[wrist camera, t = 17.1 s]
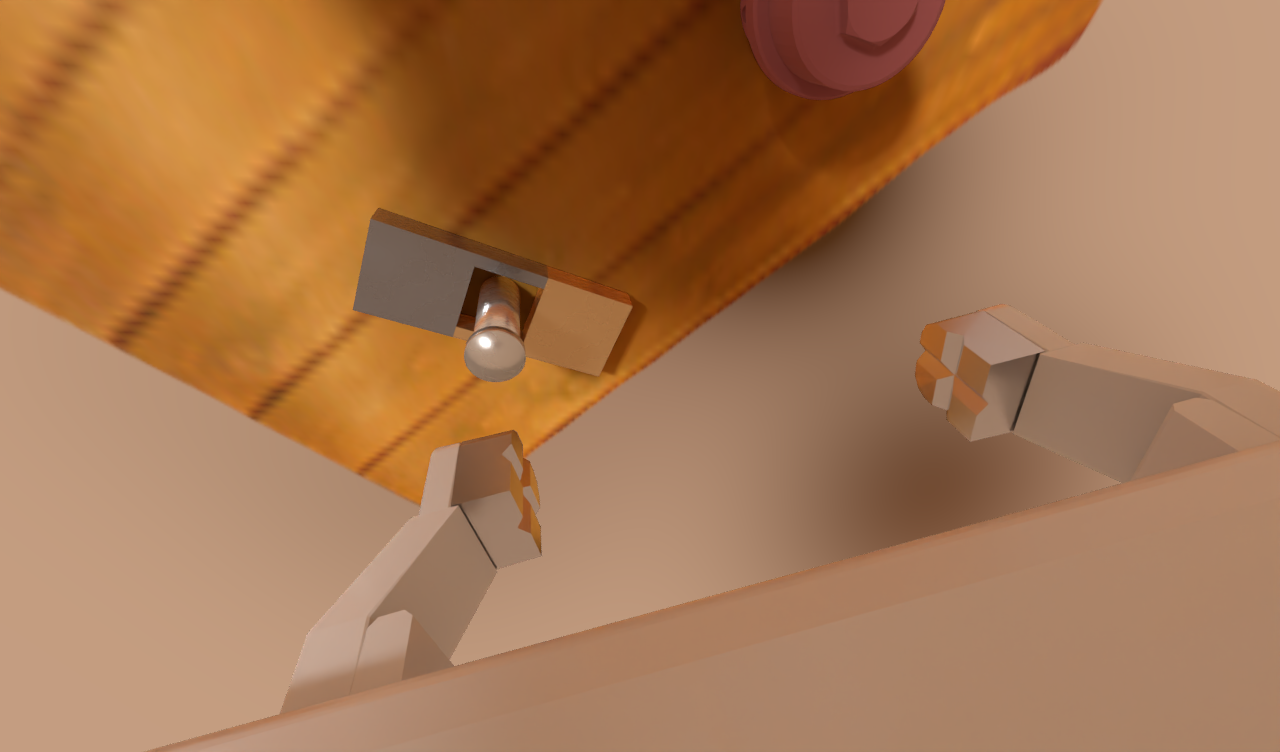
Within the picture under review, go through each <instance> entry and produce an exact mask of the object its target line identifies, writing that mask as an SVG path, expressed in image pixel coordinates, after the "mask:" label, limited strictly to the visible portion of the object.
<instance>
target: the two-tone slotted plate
mask: <svg viewBox="0 0 1280 752" xmlns="http://www.w3.org/2000/svg"><path fill="white" fill-rule="evenodd" d="M474 267H477V268H480V269H483V270H486V271H489V272H493V273H496V274H499V275H502V276H505V277H508V278H511V279H514V280H517V281H520V282H523V283H526V284H529V285H533V286H536V287H539V289H538V291H537V294H536V296H535V299H534V302H533V304H532V307H531V310H530V312H529V315H528V318H527V320H526V323H525V326H524V328H523V331H521V330H520V338H521V339H522V341H523V343H524V345H525V350H526V357H529V358H532V359H536V360H540V361H543V362H547V363H551V364H554V365H558V366H562V367H565V368H569V369H573V370H577V371H580V372H584V373H588V374H591V375H595V376H599V375H600V373H601V371H602V369H603V367H604V365H605V363H606V361H607V359H608V357H609V355H610V353H611V350H612V348H613V346H614V344H615V342H616V340H617V338H618V336H619V334H620V332H621V330H622V328H623V326H624V323H625V321H626V319H627V317H628V315H629V313H630V311H631V309H632V307H633V306H632V303H631V300H630V298H629V295H628V293H625V292H622V291H619V290H616V289H613V288H610V287H607V286H604V285H602V284H599V283H596V282H593V281H590V280H587V279H584V278H581V277H578V276H575V275H572V274H569V273H567V272H564V271H561V270H558V269H555V268H552V267H549V266H546V265H543V264H540V263H537V262H535V261H532V260H529V259H526V258H523V257H520V256H517V255H514V254H511V253H508V252H505V251H502V250H500V249H497V248H494V247H491V246H488V245H485V244H482V243H479V242H476V241H473V240H470V239H467V238H465V237H462V236H459V235H456V234H453V233H450V232H447V231H444V230H441V229H438V228H435V227H433V226H430V225H427V224H424V223H421V222H418V221H415V220H412V219H409V218H406V217H403V216H400V215H398V214H395V213H392V212H389V211H386V210H383V209H380V208H378V209H377V211H376V212H375V213H374V215H373V216H372V218H371V220H370V225H369V230H368V235H367V240H366V245H365V251H364V256H363V261H362V266H361V271H360V276H359V281H358V286H357V292H356V297H355V302H354V307H353V310H355V311H359V312H362V313H366V314H370V315H374V316H377V317H381V318H385V319H388V320H392V321H396V322H399V323H403V324H407V325H410V326H414V327H418V328H421V329H425V330H429V331H433V332H436V333H440V334H444V335H447V336H451V337H455V338H458V339H462V340H466V341H468V339H469V337H470V336H471V335H472V334H473V333H474V328H475V321H476V317H473V316H469V315H466V314H463V313H460V312H461V309H462V306H463V302H464V299H465V296H466V293H467V289H468V286H469V283H470V280H471V276H472V273H473V270H474Z"/></svg>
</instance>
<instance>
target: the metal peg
mask: <svg viewBox="0 0 1280 752" xmlns="http://www.w3.org/2000/svg"><path fill="white" fill-rule="evenodd" d="M464 360H465V363H466V366H467V367H468V369H469V370H470V371H471V372H472V373H473V374H474V375H475V376H477V377H478V378H480V379H482V380H485V381H490V382H502V381H507V380H509V379H512V378H513V377H515V376H516V375H518V374H519V373H520V372H521V370H522V369H523V367H524V365H525V360H526V350H525V345H524V343H523V341H522V339H521V338H520V291H519V288H518V286H517V284H516V283H515V282H514V281H513V280H511V279H509V278H507V277H504V276H493V277H490V278H488V279H487V280H486V281H484V283H483V284H482V286H481V288H480V294H479V301H478V308H477V314H476V321H475V328H474V333H473V334H472V335H471V336H470V337H469V339H468V341H467V343H466V347H465V353H464Z"/></svg>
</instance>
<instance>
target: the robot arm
mask: <svg viewBox="0 0 1280 752" xmlns="http://www.w3.org/2000/svg"><path fill="white" fill-rule="evenodd" d="M920 344H921V345H922V346H923V347H924V349H925V352H924V353H923V354H922V355H921V357H920V358H919V359H918V360H917V363H916V372H915V377H916V381H917V385H918V388H919V390H920V392H921V393H922V395H923V397H924V398H925V399H926V400H927V401H928V402H929V403H930V404H931V405H933V406H935V407H938V408H941V409H944V410H947V420H948V422H950V423H951V424H952V425H953V426H954V427H955V428H956V429H957V430H958V431H959V432H960V433H961V434H962V435H963V436H964V437H965V438H966V439H967V440H968V441H969V442H972V441H976V440H980V439H984V438H989V437H993V436H996V435H1001V434H1005V433H1009V432H1013V434H1014V435H1016V436H1019V437H1021V438H1023V439H1025V440H1028V441H1030V442H1032V443H1035V444H1037V445H1039V446H1042V447H1043V448H1046V449H1048V450H1050V451H1052V452H1054V453H1057V454H1059V455H1061V456H1064V457H1066V458H1068V459H1070V460H1072V461H1075V462H1077V463H1079V464H1081V465H1084V466H1086V467H1088V468H1090V469H1092V470H1095V471H1097V472H1099V473H1102V474H1104V475H1106V476H1108V477H1110V478H1113V479H1115V480H1117V481H1119V482H1121V484H1117V485H1114V486H1110V487H1106V488H1103V489H1099V490H1095V491H1092V492H1089V493H1084V494H1081V495H1077V496H1074V497H1070V498H1066V499H1063V500H1059V501H1056V502H1052V503H1048V504H1044V505H1041V506H1037V507H1034V508H1030V509H1026V510H1023V511H1019V512H1016V513H1012V514H1008V515H1004V516H1001V517H997V518H994V519H990V520H986V521H983V522H979V523H975V524H972V525H968V526H965V527H961V528H957V529H954V530H950V531H946V532H943V533H939V534H935V535H932V536H929V537H924V538H921V539H917V540H914V541H910V542H906V543H903V544H899V545H895V546H892V547H888V548H884V549H881V550H877V551H873V552H870V553H866V554H862V555H859V556H855V557H851V558H848V559H845V560H840V561H837V562H833V563H829V564H826V565H822V566H818V567H815V568H811V569H808V570H804V571H800V572H797V573H793V574H789V575H786V576H782V577H778V578H775V579H771V580H768V581H764V582H760V583H757V584H753V585H749V586H745V587H742V588H738V589H735V590H731V591H727V592H724V593H720V594H716V595H713V596H709V597H705V598H702V599H698V600H694V601H691V602H687V603H683V604H680V605H676V606H673V607H669V608H666V609H661V610H658V611H654V612H651V613H647V614H643V615H640V616H636V617H633V618H629V619H626V620H622V621H618V622H614V623H610V624H607V625H603V626H600V627H596V628H592V629H589V630H585V631H582V632H578V633H574V634H570V635H567V636H563V637H559V638H556V639H553V640H549V641H545V642H541V643H538V644H534V645H531V646H527V647H523V648H519V649H516V650H512V651H508V652H505V653H501V654H497V655H494V656H490V657H486V658H483V659H479V660H475V661H472V662H468V663H465V664H461V665H457V666H454V665H453V664H452V663H451V661H450V658H451V656H452V654H453V652H454V651H455V649H456V647H457V645H458V643H459V641H460V640H461V638H462V636H463V633H464V632H465V630H466V629H467V627H468V625H469V623H470V621H471V619H472V618H473V616H474V614H475V612H476V610H477V608H478V607H479V604H480V602H481V601H482V599H483V597H484V595H485V594H486V592H487V590H488V588H489V586H490V584H491V583H492V581H493V579H494V577H495V575H496V573H497V571H496V570H497V569H500V568H503V567H507V566H510V565H513V564H516V563H520V562H523V561H527V560H530V559H534V558H537V557H540V556H542V550H541V526H540V524H539V522H538V519H537V517H536V513H537V512H538V510H539V509H540V497H539V491H538V485H537V480H536V477H535V474H534V470H533V468H532V466H531V464H530V461H528V460H526V459H524V458H523V444H522V442H521V440H520V438H519V436H518V434H517V432H516V431H514V430H511V431H507V432H502V433H498V434H494V435H489V436H485V437H481V438H476V439H472V440H468V441H464V442H462V443H456V444H452V445H448V446H444V447H440V448H436V449H435V450H434V451H433V453H432V454H431V458H430V463H429V468H428V473H427V478H426V483H425V488H424V492H423V497H422V502H421V507H420V512H419V516H415V517H411V518H410V519H409V520H408V521H407V522H406V524H405V525H404V526H403V527H402V528H401V529H400V530H399V531H398V532H397V534H396V535H395V536H394V537H393V538H392V539H391V541H389V543H388V544H387V545H386V546H385V547H384V548H383V549H382V550H381V552H380V553H379V554H378V555H377V556H376V557H375V558H374V560H373V561H372V562H371V563H370V564H369V565H368V566H367V567H366V568H365V570H364V571H363V572H362V573H361V574H360V575H359V576H358V577H357V579H356V580H355V581H354V582H353V583H352V584H351V585H350V586H349V587H348V589H347V590H346V591H345V592H344V593H343V594H342V595H341V596H340V598H339V599H338V600H337V601H336V602H335V603H334V604H333V606H332V607H331V608H330V609H329V610H328V611H327V612H326V613H325V614H324V616H323V617H322V618H321V619H320V620H319V621H318V622H317V623H316V624H315V626H314V627H313V628H312V629H311V630H310V631H309V632H308V634H307V637H306V640H305V642H304V645H303V648H302V651H301V654H300V657H299V660H298V663H297V666H296V669H295V672H294V674H293V677H292V680H291V683H290V686H289V689H288V692H287V695H286V697H285V700H284V703H283V706H282V709H281V712H280V714H279V715H275V716H272V717H268V718H264V719H261V720H257V721H253V722H250V723H246V724H242V725H239V726H235V727H232V728H228V729H224V730H221V731H217V732H214V733H210V734H206V735H202V736H199V737H195V738H192V739H188V740H184V741H181V742H177V743H173V744H170V745H166V746H162V747H159V748H155V749H152V750H148V751H144V752H1280V391H1278V390H1276V389H1274V388H1272V387H1270V386H1268V385H1266V384H1264V383H1262V382H1260V381H1258V380H1255V379H1251V378H1246V377H1242V376H1237V375H1232V374H1228V373H1223V372H1218V371H1214V370H1209V369H1204V368H1199V367H1195V366H1190V365H1185V364H1181V363H1176V362H1171V361H1167V360H1162V359H1157V358H1153V357H1148V356H1143V355H1139V354H1134V353H1129V352H1125V351H1120V350H1115V349H1111V348H1106V347H1101V346H1097V345H1092V344H1087V343H1079V344H1073V343H1072V342H1070V341H1068V340H1067V339H1065V338H1063V337H1062V336H1060V335H1058V334H1057V333H1055V332H1054V331H1052V330H1050V329H1048V328H1047V327H1045V326H1044V325H1042V324H1040V323H1039V322H1037V321H1035V320H1034V319H1032V318H1030V317H1029V316H1027V315H1026V314H1024V313H1022V312H1021V311H1019V310H1017V309H1016V308H1014V307H1012V306H1010V305H1005V304H999V305H996V306H992V307H989V308H985V309H982V310H978V311H976V312H974V313H969V314H966V315H962V316H958V317H954V318H950V319H946V320H943V321H939V322H935V323H931V324H927V325H926V326H925V328H924V330H923V331H922V335H921V340H920Z"/></svg>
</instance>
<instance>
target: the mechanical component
mask: <svg viewBox="0 0 1280 752" xmlns="http://www.w3.org/2000/svg"><path fill="white" fill-rule="evenodd" d="M944 3H945V0H741V2H740V10H741V20H742V25H743V29H744V31H745V34H746V37H747V38H748V40H749V43H750V46H751V49H752V52H753V54H754V57H755V59H756V61H757V63H758V64H759V66H760V68H761V69H762V71H763V72H764V73H765V75H766V76H767V77H768V78H769V79H770V80H771V81H772V82H773V83H774V84H775V85H777V86H778V87H780V88H781V89H783V90H784V91H786V92H789V93H791V94H793V95H796V96H799V97H803V98H806V99H813V100H830V99H835V98H839V97H842V96H845V95H848V94H850V93H853V92H854V91H860V90H865V89H869V88H872V87H875V86H877V85H880V84H881V83H883V82H885V81H887V80H889V79H890V78H892V77H893V76H895V75H896V74H897V73H899V72H900V71H901V70H902V69H903V68H904V67H906V66H907V65H908V64H909V63H910V62H911V61H912V60H913V58H914V57H915V56H916V55H917V54H918V53H919V51H920V50H921V49H922V47H923V46H924V44H925V43H926V41H927V40H928V39H929V37H930V35H931V33H932V31H933V30H934V28H935V26H936V24H937V22H938V19H939V17H940V14H941V12H942V10H943V7H944Z"/></svg>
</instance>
